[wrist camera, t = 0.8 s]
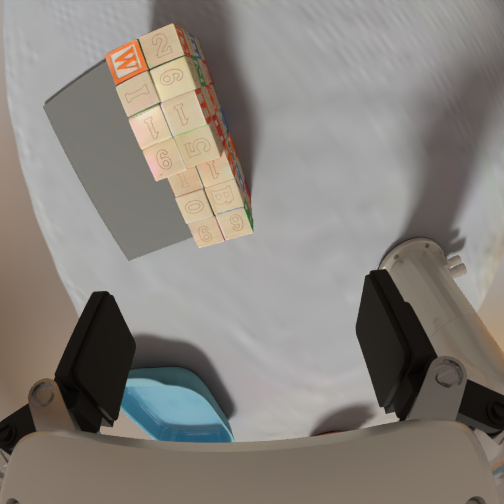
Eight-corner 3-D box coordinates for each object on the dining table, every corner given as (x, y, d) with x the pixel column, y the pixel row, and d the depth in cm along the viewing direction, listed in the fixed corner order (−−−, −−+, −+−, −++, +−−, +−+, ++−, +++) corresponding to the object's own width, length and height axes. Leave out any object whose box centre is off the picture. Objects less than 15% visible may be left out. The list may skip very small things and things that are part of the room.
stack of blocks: (252, 198, 39) (254, 250, 29) (206, 211, 40) (192, 266, 30) (197, 37, 28) (173, 20, 18) (147, 57, 29) (102, 54, 19)
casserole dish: (99, 355, 57) (90, 381, 51) (195, 347, 55) (191, 378, 49) (169, 431, 77) (166, 452, 71) (244, 428, 74) (244, 451, 68)
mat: (128, 48, 28) (127, 48, 28) (213, 227, 41) (213, 229, 41) (45, 106, 31) (43, 106, 30) (129, 259, 44) (128, 260, 43)
